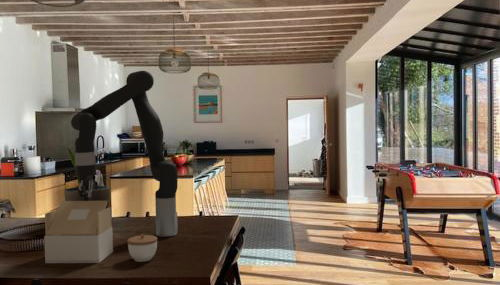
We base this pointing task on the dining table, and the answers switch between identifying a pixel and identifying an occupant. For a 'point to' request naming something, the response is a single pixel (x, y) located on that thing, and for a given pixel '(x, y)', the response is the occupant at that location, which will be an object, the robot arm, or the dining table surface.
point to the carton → (80, 242)
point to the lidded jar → (142, 247)
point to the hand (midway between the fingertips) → (87, 206)
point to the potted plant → (98, 195)
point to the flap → (76, 218)
